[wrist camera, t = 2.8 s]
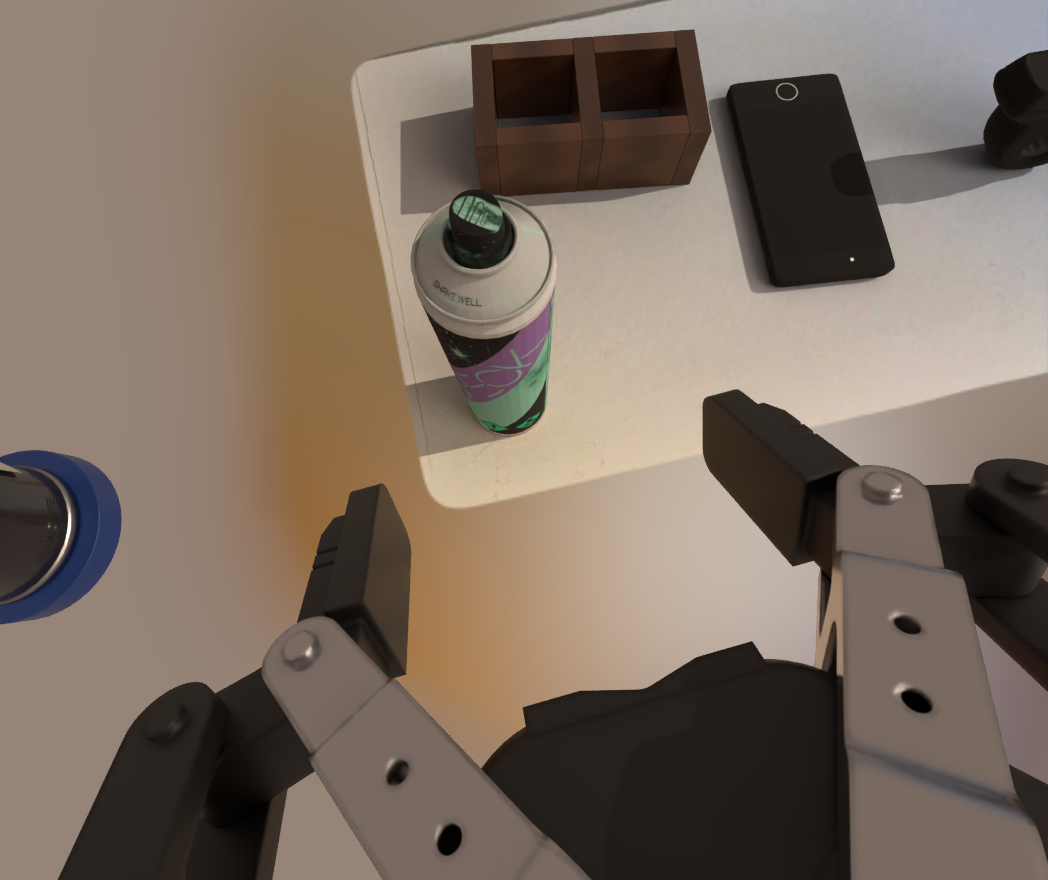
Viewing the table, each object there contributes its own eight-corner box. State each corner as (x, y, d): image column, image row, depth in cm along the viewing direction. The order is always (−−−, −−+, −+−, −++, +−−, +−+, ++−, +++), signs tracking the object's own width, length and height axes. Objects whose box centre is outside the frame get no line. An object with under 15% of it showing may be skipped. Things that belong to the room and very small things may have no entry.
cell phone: (830, 82, 40) (837, 71, 39) (888, 276, 36) (898, 269, 35) (724, 94, 40) (728, 83, 39) (770, 289, 36) (776, 282, 35)
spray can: (465, 371, 35) (378, 154, 16) (538, 357, 35) (542, 124, 16) (477, 443, 34) (399, 304, 15) (553, 429, 34) (577, 271, 15)
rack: (482, 197, 38) (475, 147, 34) (478, 105, 40) (470, 44, 36) (689, 184, 38) (711, 131, 33) (675, 92, 40) (694, 29, 35)
